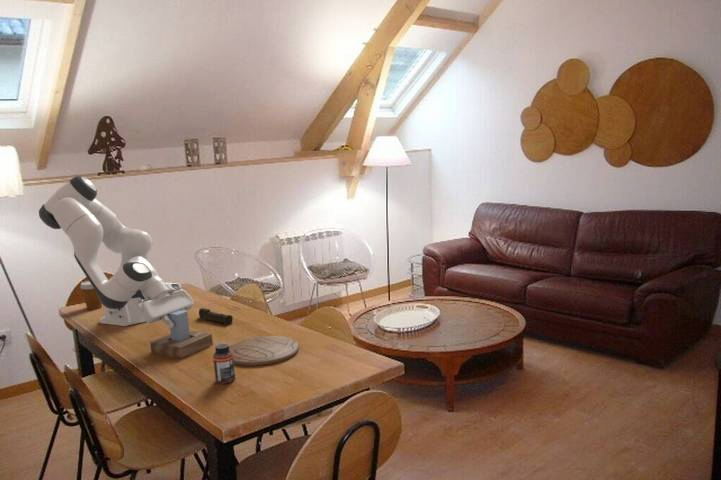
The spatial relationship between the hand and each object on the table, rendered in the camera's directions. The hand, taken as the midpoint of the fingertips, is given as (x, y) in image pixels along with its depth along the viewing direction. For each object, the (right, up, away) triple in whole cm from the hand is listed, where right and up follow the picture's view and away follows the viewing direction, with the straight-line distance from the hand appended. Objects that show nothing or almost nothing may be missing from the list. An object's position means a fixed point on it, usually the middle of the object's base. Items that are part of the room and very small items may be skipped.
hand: (180, 323), depth 209 cm
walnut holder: (0, -9, +2) cm, 9 cm away
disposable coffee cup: (-58, -2, +62) cm, 85 cm away
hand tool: (+4, -4, +32) cm, 33 cm away
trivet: (+30, -10, -5) cm, 32 cm away
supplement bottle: (+22, -14, -28) cm, 38 cm away
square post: (0, -6, +1) cm, 6 cm away
